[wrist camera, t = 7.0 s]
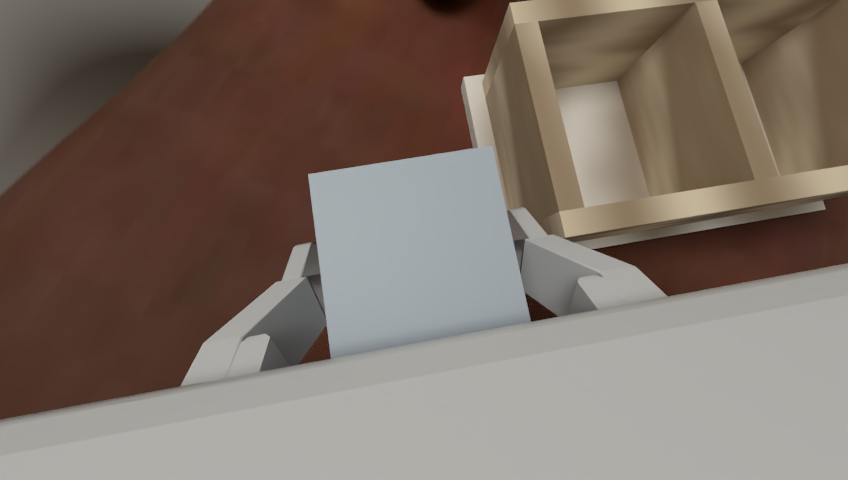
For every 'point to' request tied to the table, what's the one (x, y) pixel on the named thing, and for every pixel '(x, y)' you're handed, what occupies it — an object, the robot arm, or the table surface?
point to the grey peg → (415, 251)
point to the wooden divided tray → (664, 113)
